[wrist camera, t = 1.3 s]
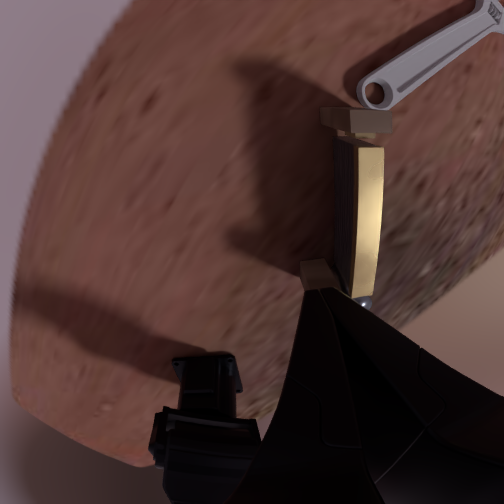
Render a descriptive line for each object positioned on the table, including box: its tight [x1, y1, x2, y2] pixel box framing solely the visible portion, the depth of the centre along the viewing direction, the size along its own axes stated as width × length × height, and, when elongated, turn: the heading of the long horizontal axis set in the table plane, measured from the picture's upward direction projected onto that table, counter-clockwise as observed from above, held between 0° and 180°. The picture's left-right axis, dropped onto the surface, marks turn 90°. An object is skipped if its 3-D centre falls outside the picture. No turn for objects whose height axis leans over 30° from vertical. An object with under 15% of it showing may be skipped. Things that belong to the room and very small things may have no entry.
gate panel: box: [331, 136, 384, 310], centre depth 18 cm, size 11×2×5 cm, turn 6°
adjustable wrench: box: [356, 0, 504, 110], centre depth 13 cm, size 25×6×2 cm, turn 127°
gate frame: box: [300, 107, 392, 291], centre depth 18 cm, size 14×3×6 cm, turn 176°
